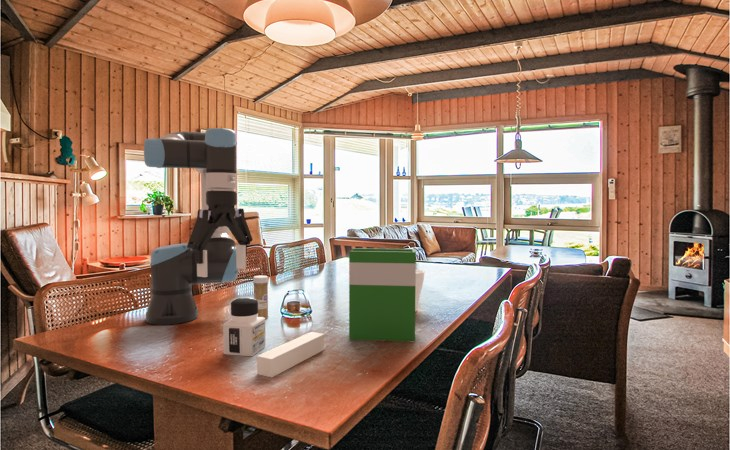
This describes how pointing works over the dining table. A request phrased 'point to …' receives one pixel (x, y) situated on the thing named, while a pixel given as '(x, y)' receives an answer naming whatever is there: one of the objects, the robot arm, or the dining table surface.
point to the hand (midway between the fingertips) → (222, 272)
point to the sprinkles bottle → (261, 294)
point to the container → (244, 329)
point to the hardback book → (382, 294)
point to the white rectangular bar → (289, 354)
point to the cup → (418, 286)
